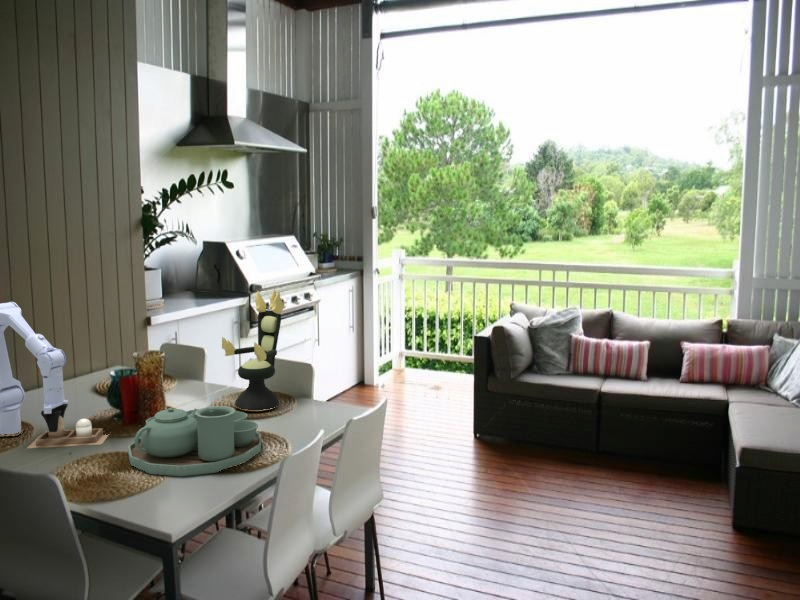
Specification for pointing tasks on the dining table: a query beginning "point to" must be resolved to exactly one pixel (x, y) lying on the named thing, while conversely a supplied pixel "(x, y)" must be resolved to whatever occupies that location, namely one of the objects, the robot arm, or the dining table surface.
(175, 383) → the dining table surface
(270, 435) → the dining table surface
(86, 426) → the cream egg
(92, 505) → the dining table surface
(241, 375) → the toy throne chair
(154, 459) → the tea set
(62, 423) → the brown egg
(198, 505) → the dining table surface
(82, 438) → the wooden divided tray
